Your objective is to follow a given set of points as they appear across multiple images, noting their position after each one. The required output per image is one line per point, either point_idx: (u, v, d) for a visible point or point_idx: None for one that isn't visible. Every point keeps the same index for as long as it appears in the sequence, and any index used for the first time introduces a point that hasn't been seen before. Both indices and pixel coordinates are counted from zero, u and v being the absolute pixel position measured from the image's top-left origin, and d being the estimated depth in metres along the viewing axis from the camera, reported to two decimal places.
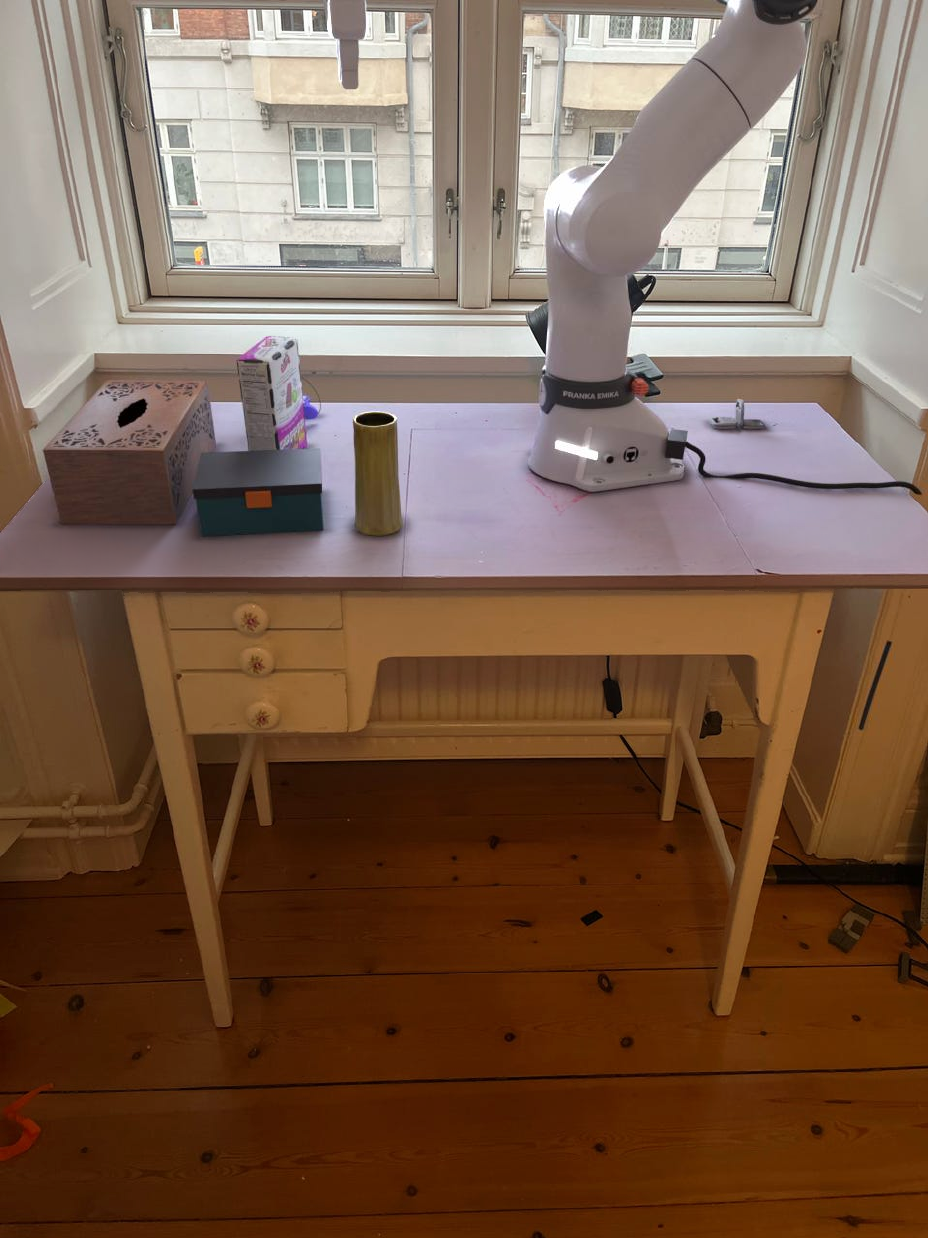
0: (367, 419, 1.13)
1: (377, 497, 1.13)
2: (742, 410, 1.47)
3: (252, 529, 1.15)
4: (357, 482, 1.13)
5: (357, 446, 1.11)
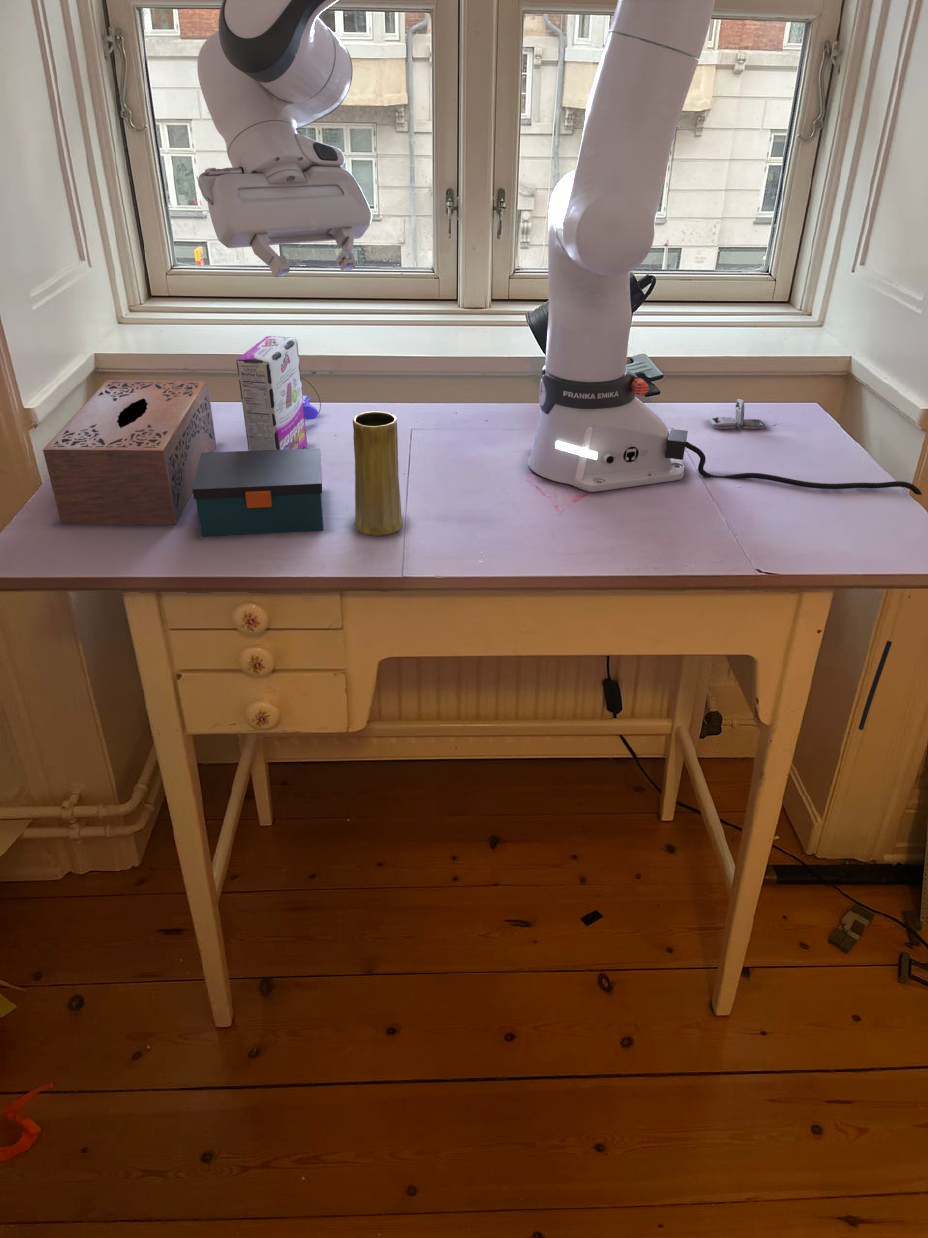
0: (367, 419, 1.13)
1: (377, 497, 1.13)
2: (742, 410, 1.47)
3: (252, 529, 1.15)
4: (357, 482, 1.13)
5: (357, 446, 1.11)
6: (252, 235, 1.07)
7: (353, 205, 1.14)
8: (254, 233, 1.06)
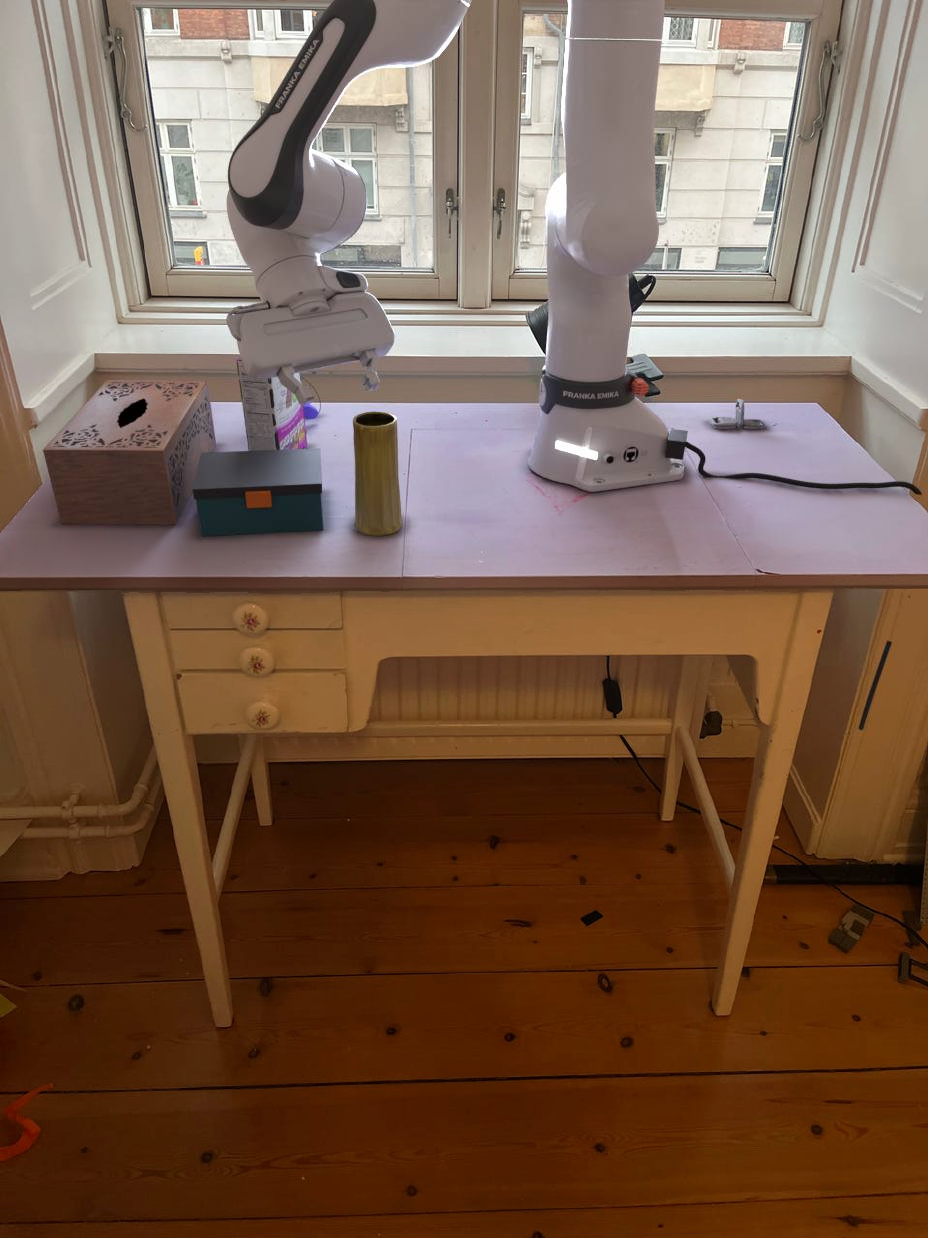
0: (367, 419, 1.13)
1: (377, 497, 1.13)
2: (742, 410, 1.47)
3: (252, 529, 1.15)
4: (357, 482, 1.13)
5: (357, 446, 1.11)
6: (278, 368, 1.12)
7: (376, 327, 1.18)
8: (279, 366, 1.12)
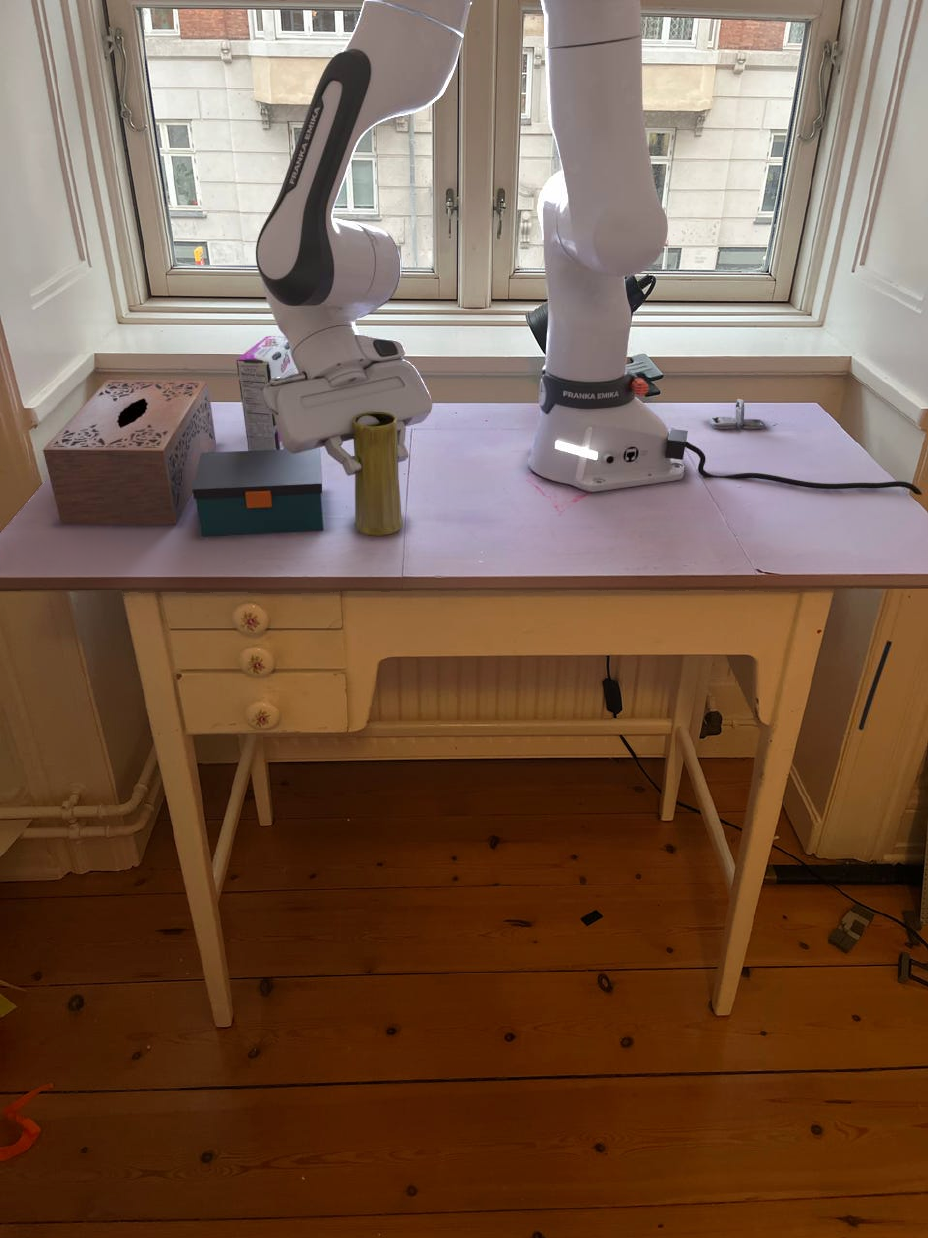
0: None
1: (377, 497, 1.13)
2: (742, 410, 1.47)
3: (252, 529, 1.15)
4: (357, 482, 1.13)
5: (357, 446, 1.11)
6: (315, 441, 1.10)
7: (414, 395, 1.16)
8: (327, 437, 1.10)
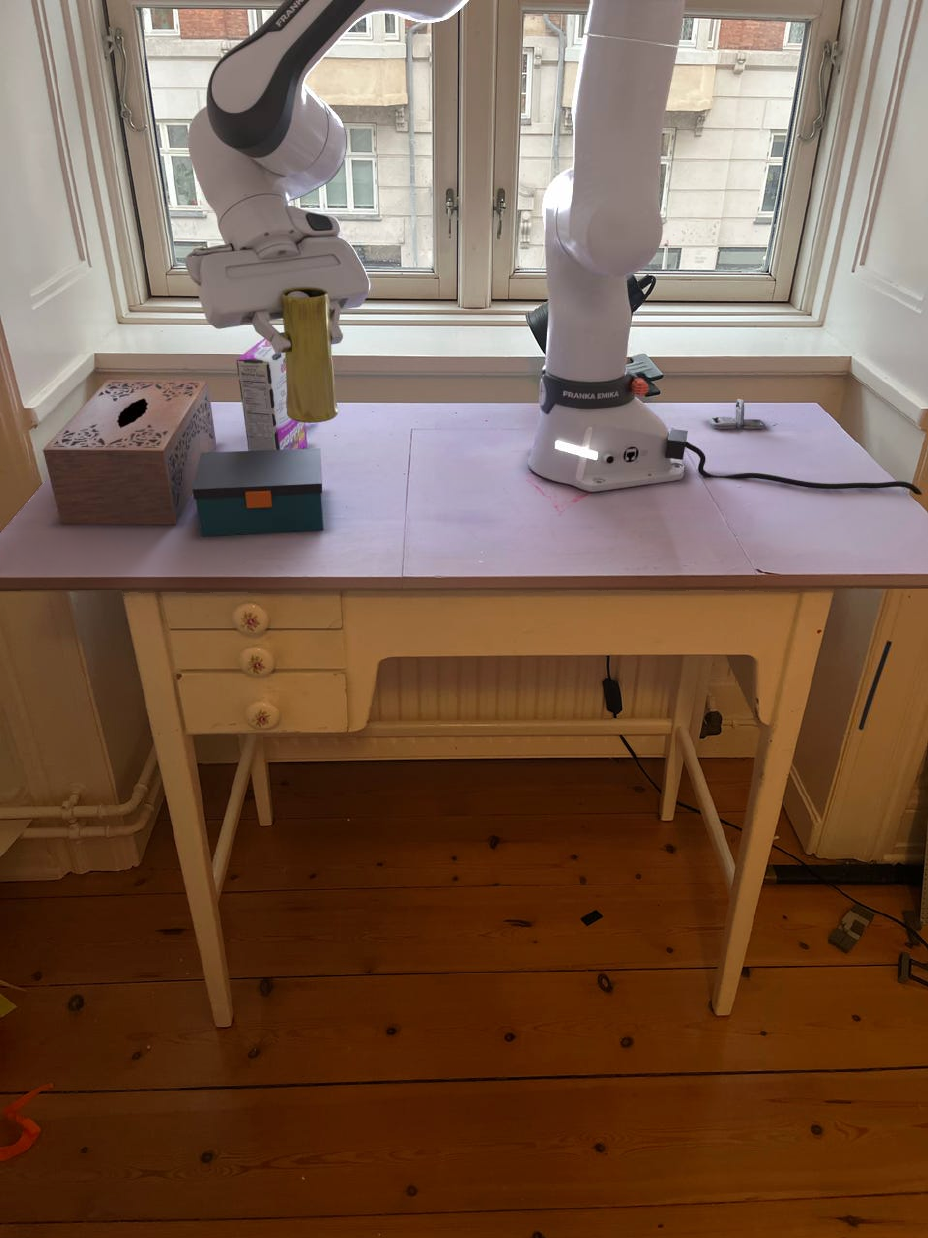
0: None
1: (308, 379, 1.07)
2: (742, 410, 1.47)
3: (252, 529, 1.15)
4: (287, 363, 1.07)
5: (286, 322, 1.04)
6: (241, 315, 1.03)
7: (350, 274, 1.10)
8: (253, 311, 1.03)
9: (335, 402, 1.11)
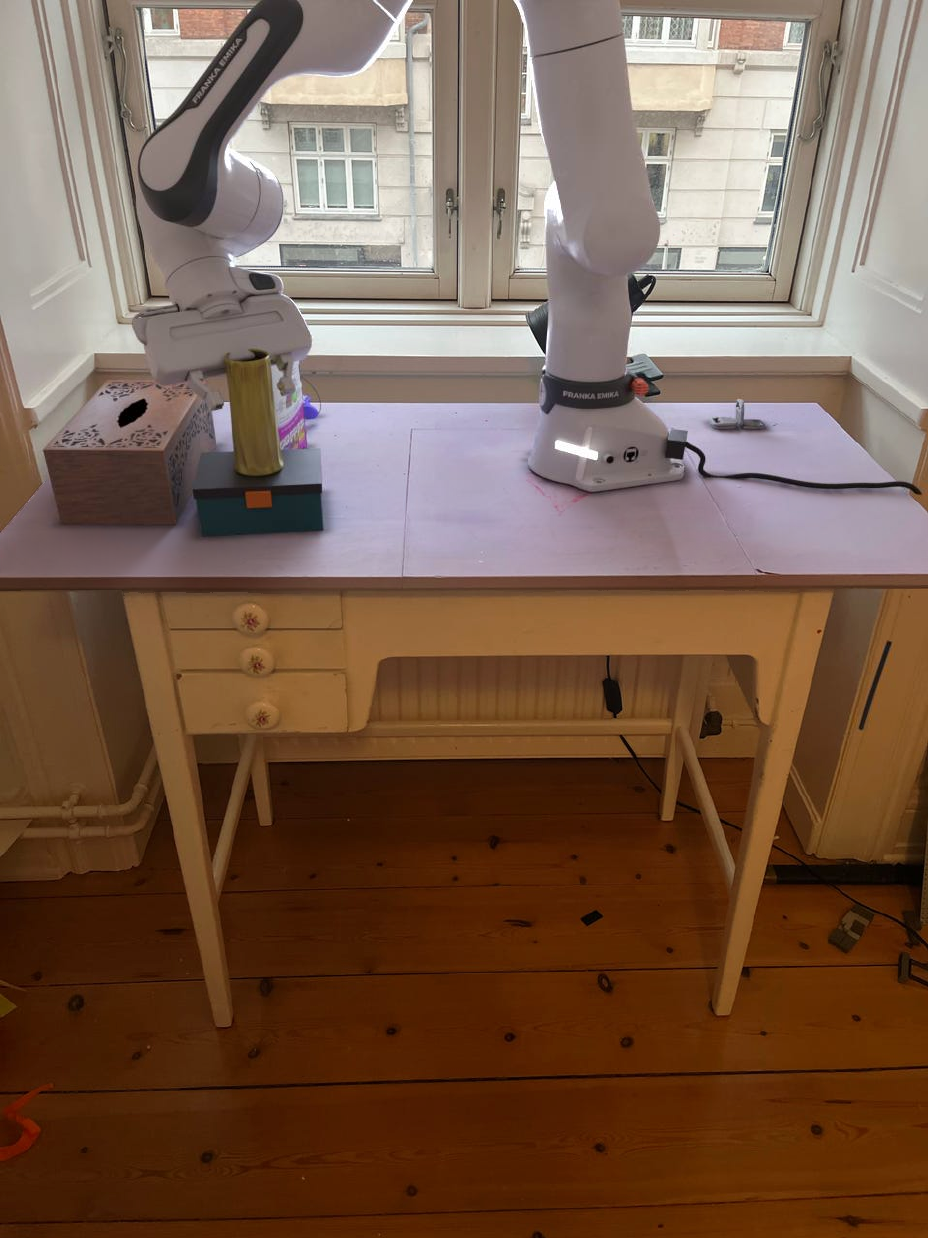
0: None
1: (252, 436, 1.12)
2: (742, 410, 1.47)
3: (252, 529, 1.15)
4: (232, 421, 1.12)
5: (229, 383, 1.10)
6: (185, 373, 1.08)
7: (292, 330, 1.15)
8: (187, 371, 1.08)
9: (280, 456, 1.16)
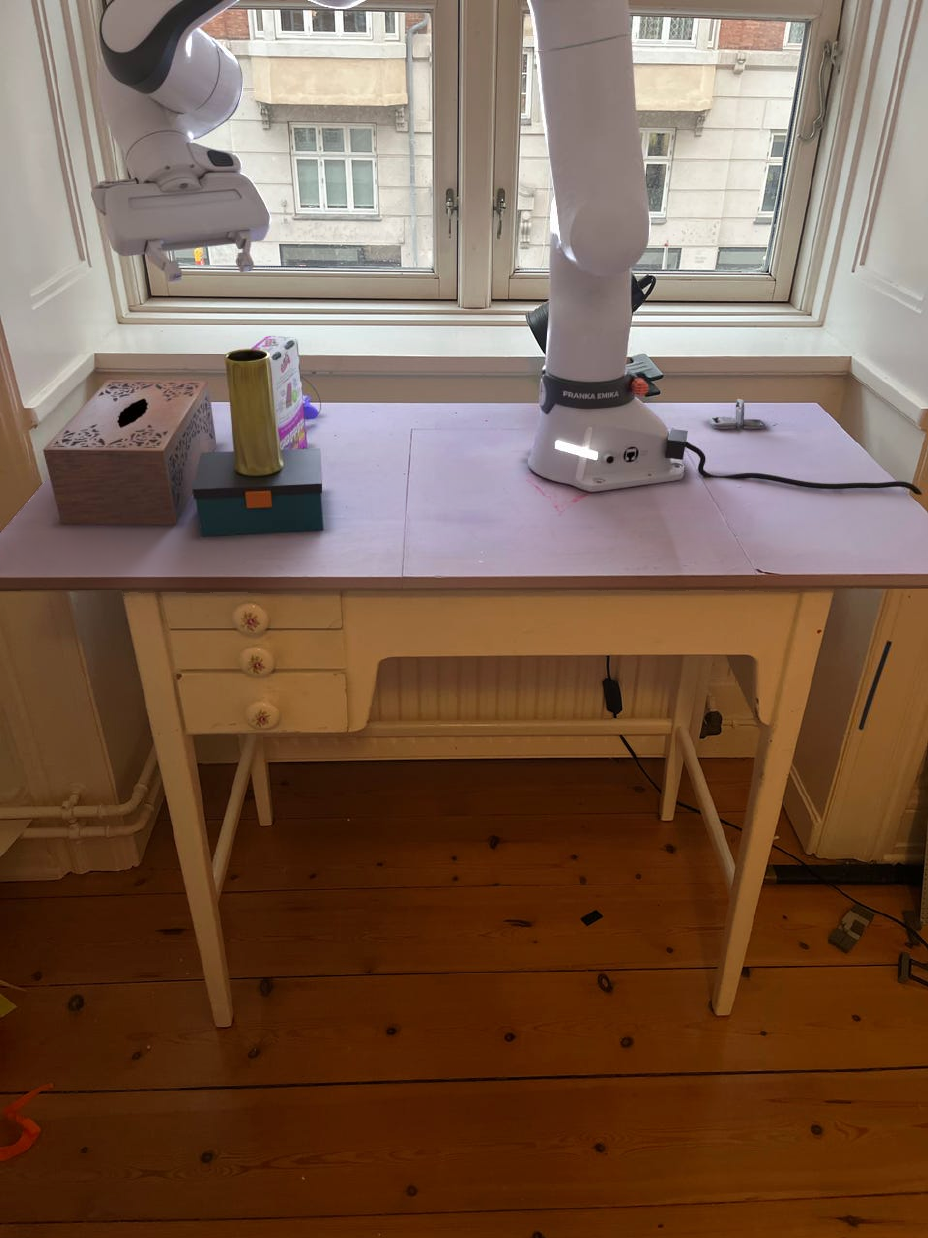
0: (242, 357, 1.12)
1: (252, 436, 1.12)
2: (742, 410, 1.47)
3: (252, 529, 1.15)
4: (232, 421, 1.12)
5: (229, 383, 1.10)
6: (143, 242, 1.10)
7: (251, 208, 1.17)
8: (145, 240, 1.10)
9: (280, 456, 1.16)
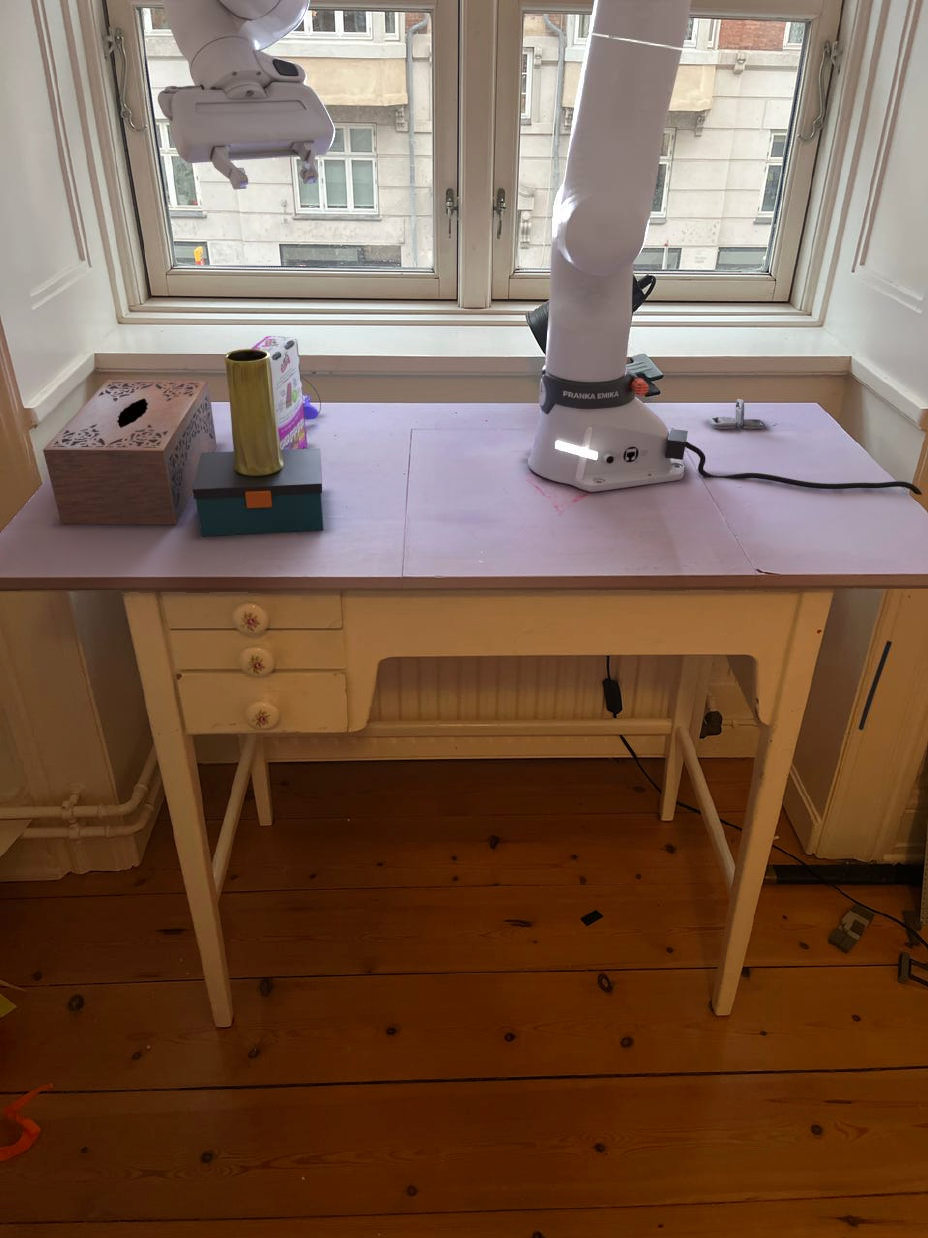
0: (242, 357, 1.12)
1: (252, 436, 1.12)
2: (742, 410, 1.47)
3: (252, 529, 1.15)
4: (232, 421, 1.12)
5: (229, 383, 1.10)
6: (210, 148, 1.09)
7: (315, 119, 1.16)
8: (212, 146, 1.09)
9: (280, 456, 1.16)
